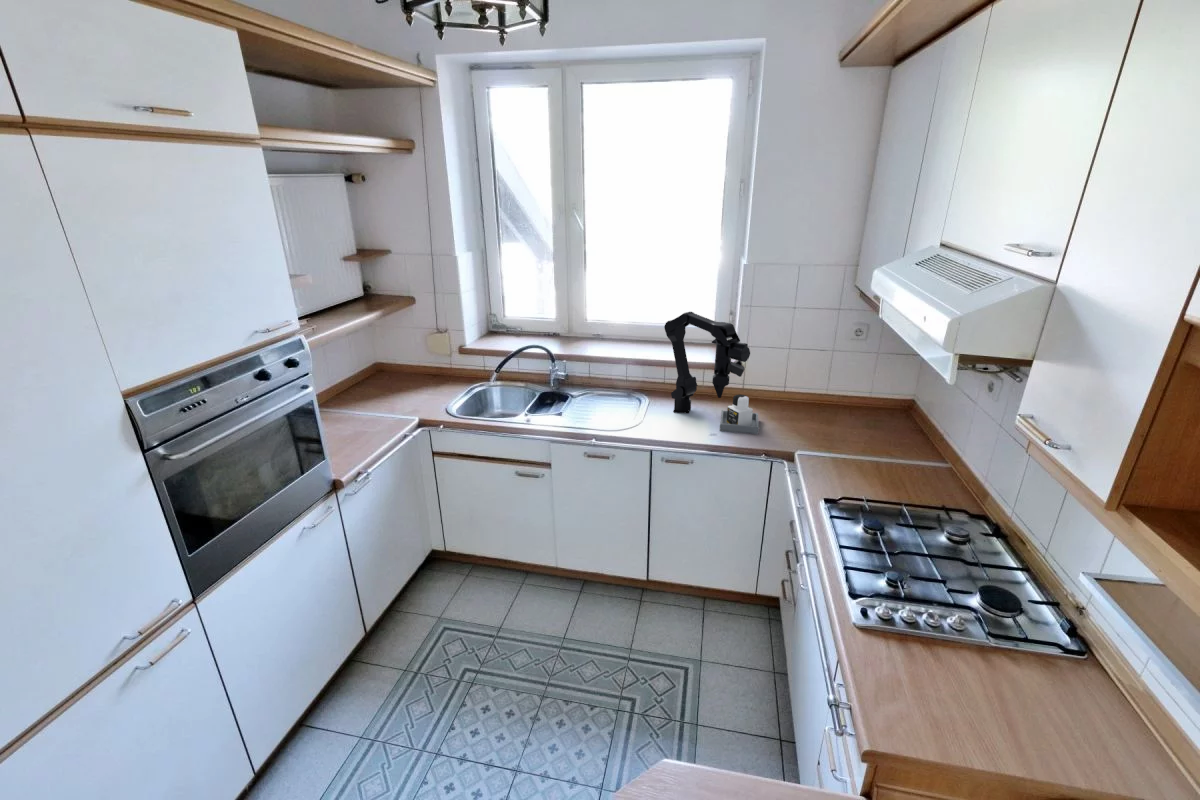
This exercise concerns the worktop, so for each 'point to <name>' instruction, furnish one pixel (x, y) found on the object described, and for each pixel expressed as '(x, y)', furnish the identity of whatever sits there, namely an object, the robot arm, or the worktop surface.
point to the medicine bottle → (740, 411)
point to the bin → (739, 428)
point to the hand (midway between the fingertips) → (719, 393)
